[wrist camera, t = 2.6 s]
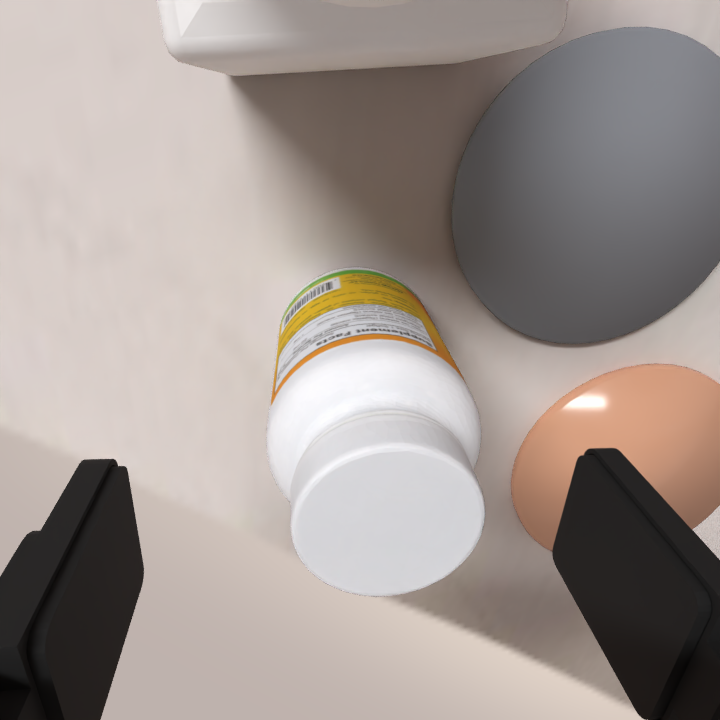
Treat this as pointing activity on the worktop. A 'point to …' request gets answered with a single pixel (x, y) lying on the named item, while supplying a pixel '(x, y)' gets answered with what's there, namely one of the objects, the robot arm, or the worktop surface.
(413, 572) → the supplement bottle
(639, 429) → the peach coaster
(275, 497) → the worktop surface
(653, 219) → the slate grey coaster
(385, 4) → the medicine bottle
